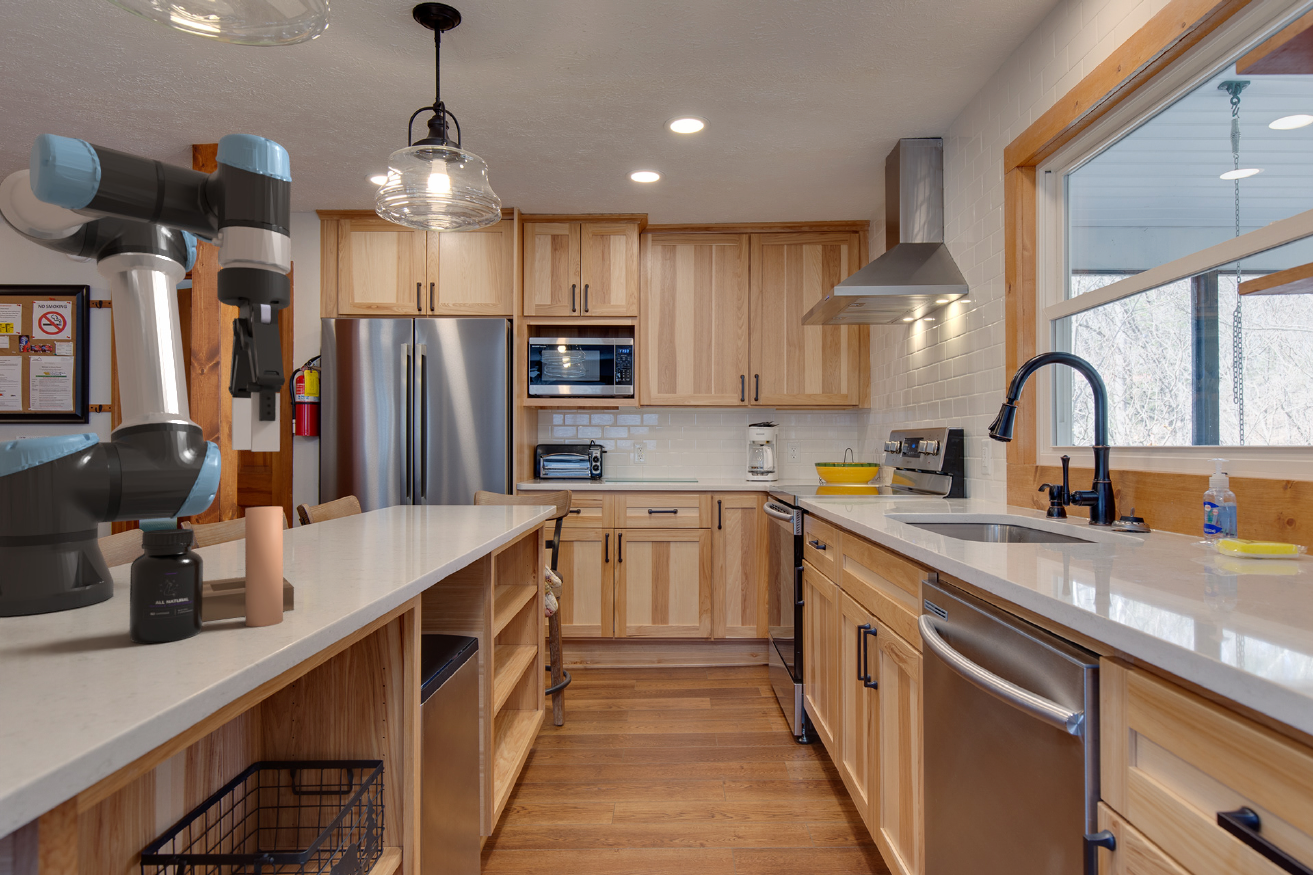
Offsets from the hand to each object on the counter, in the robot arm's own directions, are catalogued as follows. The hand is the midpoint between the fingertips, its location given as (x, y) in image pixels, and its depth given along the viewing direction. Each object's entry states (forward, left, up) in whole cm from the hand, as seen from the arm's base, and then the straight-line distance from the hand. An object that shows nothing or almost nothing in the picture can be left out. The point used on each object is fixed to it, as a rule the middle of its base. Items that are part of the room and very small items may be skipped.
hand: (254, 450), depth 83 cm
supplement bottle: (-2, -8, -21) cm, 23 cm away
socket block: (-13, -1, -21) cm, 25 cm away
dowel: (-2, +1, -21) cm, 21 cm away
